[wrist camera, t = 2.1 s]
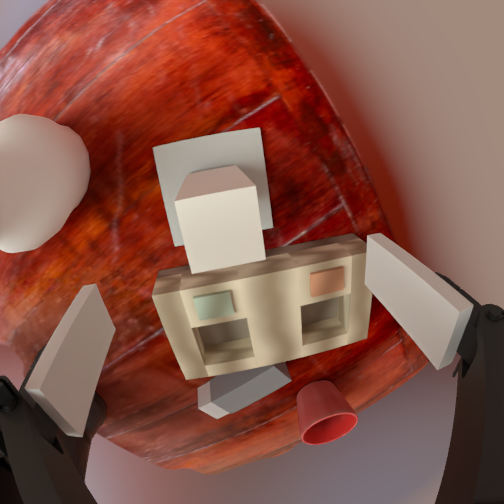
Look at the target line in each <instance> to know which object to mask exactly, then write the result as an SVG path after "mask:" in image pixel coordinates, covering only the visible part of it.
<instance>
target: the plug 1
mask: <svg viewBox="0 0 504 504" xmlns="http://www.w3.org/2000/svg"><path fill="white" fill-rule="evenodd" d="M174 203H175V207H176V212H177V216H178V220H179V225H180V229H181V233H182V237H183V241H184V245H185V249H186V253H187V257H188V261H189V265H190V269H191V273H192V274H194V273H200V272H205V271H210V270H215V269H220V268H226V267H231V266H236V265H241V264H246V263H251V262H256V261H261V260H266V257H265V249H264V242H263V234H262V227H261V220H260V213H259V206H258V198H257V191H256V186H255V184H254V183H253V182H252V181H251V180H250V179H249V178H248V177H247V176H246V175H245V174H244V173H243V172H242V171H241V170H240V169H239V168H238V167H237V166H236V165H234V166H233V165H232V164H231V165H225V166H220V167H214V168H209V169H204V170H199V171H194V172H191V173H190V174H187V175H186V178H185V180H184V182H183V184H182V186H181V188H180V190H179V192H178V194H177V196H176V198H175V201H174Z"/></svg>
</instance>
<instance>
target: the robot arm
mask: <svg viewBox="0 0 504 504" xmlns="http://www.w3.org/2000/svg"><path fill="white" fill-rule="evenodd" d="M364 284H365V285H366V286H367V287H368V289H369V290H370V291H371V292H372V293H373V294H374V295H375V296H376V298H377V299H378V300H379V301H380V302H381V303H382V304H383V305H384V307H385V308H386V309H387V310H388V311H389V312H390V313H391V315H392V316H393V317H394V318H395V319H396V320H397V322H398V323H399V324H400V325H401V326H402V327H403V329H404V330H405V331H406V332H407V333H408V334H409V336H410V337H411V338H412V339H413V340H414V342H415V343H416V344H417V345H418V347H419V348H420V349H421V350H422V351H423V353H424V354H425V355H426V356H427V358H428V359H429V360H430V361H431V362H432V364H433V365H434V366H435V368H436V369H437V370H439V369H441V368H443V367H445V366H447V365H449V364H451V363H452V361H453V359H454V356H455V354H456V352H458V354H459V355H460V356H461V358H460V360H459V362H458V364H457V367H456V369H455V371H454V373H453V377H455V375H456V373H457V372H458V385H457V397H456V407H455V415H454V423H453V430H452V436H451V441H450V447H449V452H448V457H447V461H446V466H445V470H444V474H443V478H442V482H441V485H440V489H439V492H438V495H437V498H436V502H435V504H504V310H503V309H502V308H500V307H499V306H496V305H493V304H486V305H483V306H481V305H480V304H479V303H478V302H477V301H476V300H474V299H473V298H472V297H471V296H470V295H468V294H467V293H466V292H465V291H464V290H462V289H460V287H459V286H457V285H456V284H454V282H452V281H451V280H450V279H449V278H447V277H446V276H443V275H441V274H439V273H436V272H435V273H434V272H433V271H431V270H430V269H429V268H428V267H426V266H425V265H424V264H422V263H421V262H419V261H418V260H417V259H416V258H414V257H413V256H412V255H410V254H409V253H407V252H406V251H405V250H404V249H402V248H401V247H399V246H398V245H397V244H395V243H394V242H392V241H391V240H390V239H388V238H387V237H385V236H384V235H382V234H381V233H377V234H371V235H367V252H366V269H365V283H364ZM115 330H116V329H115V327H114V325H113V322H112V320H111V318H110V316H109V314H108V311H107V309H106V307H105V305H104V302H103V300H102V298H101V295H100V293H99V290H98V288H97V285H96V284H91V285H85V286H83V287H82V288H81V290H80V291H79V293H78V294H77V296H76V297H75V299H74V300H73V302H72V304H71V305H70V307H69V308H68V310H67V311H66V313H65V315H64V316H63V318H62V320H61V321H60V323H59V325H58V326H57V328H56V330H55V331H54V333H53V335H52V336H51V338H50V340H49V342H48V344H46V345H45V346H44V347H43V348H42V349H41V350H40V351H39V353H38V354H37V356H36V358H35V360H34V361H35V362H33V364H32V366H31V369H29V371H28V373H27V375H26V377H25V379H24V381H23V383H22V385H21V388H20V390H19V392H18V390H17V389H16V388H15V386H14V385H13V384H12V383H11V381H10V380H9V379H8V377H6V376H0V504H97V502H96V501H95V499H94V498H93V496H92V494H91V493H90V491H89V490H88V488H87V486H86V485H85V475H86V468H87V462H88V456H89V450H90V445H91V441H92V438H93V437H94V435H95V434H96V432H97V430H98V429H99V427H100V426H101V425H102V424H103V423H104V420H105V417H106V412H107V408H106V405H105V403H104V401H103V400H102V398H101V397H100V396H99V395H98V394H97V393H96V392H95V389H96V386H97V383H98V380H99V376H100V373H101V370H102V367H103V364H104V361H105V358H106V355H107V352H108V349H109V346H110V344H111V341H112V338H113V335H114V333H115Z"/></svg>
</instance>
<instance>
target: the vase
mask: <svg viewBox="0 0 504 504" xmlns="http://www.w3.org/2000/svg"><path fill="white" fill-rule="evenodd" d="M90 174H91V169H90V160H89V152H88V150H87V148H86V146H85V144H84V142H83V140H82V138H81V137H80V136H79V135H78V134H77V133H76V132H74V131H73V130H72V129H71V128H70V127H68V126H63V125H59V124H57V123H56V122H54V121H52V120H50V119H48V118H45V117H41V116H34V115H27V114H17V115H13V116H11V117H9V118H7V119H5V120H2V121H0V250H2V251H5V252H8V253H16V252H22V251H29V250H34V249H36V248H38V247H40V246H41V245H42V244H43V243H45V242H46V241H47V240H48V239H50V238H51V237H52V236H54V235H55V234H56V233H57V232H58V231H59V230H60V229H61V228H62V227H63V225H64V224H65V222H66V220H67V218H68V217H69V215H70V213H71V212H72V210H73V209H74V208H76V207H77V206H78V205H79V203H80V201H81V200H82V198H83V196H84V195H85V193H86V191H87V188H88V183H89V178H90Z"/></svg>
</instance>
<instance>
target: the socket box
mask: <svg viewBox="0 0 504 504" xmlns="http://www.w3.org/2000/svg"><path fill="white" fill-rule="evenodd" d="M366 252H367V244H366V243H365V242H364V241H362V240H361V239H360V238H358V237H357V236H356V235H355V234H353V233H351V234H346V235H341V236H336V237H331V238H325V239H320V240H315V241H310V242H305V243H300V244H295V245H289V246H284V247H279V248H274V249H269V250H265V257H266V260H261V261H256V262H251V263H246V264H241V265H236V266H231V267H226V268H220V269H215V270H210V271H205V272H200V273H194V274H192V273H191V269H190V265H186V266H181V267H176V268H171V269H166V270H161V271H159V272H158V275H157V279H156V282H155V286H154V289H153V293H152V298H153V301H154V304H155V306H156V309H157V312H158V314H159V317H160V319H161V322H162V325H163V327H164V330H165V332H166V335H167V337H168V339H169V342H170V344H171V347H172V349H173V351H174V354H175V356H176V358H177V361H178V363H179V365H180V367H181V370H182V372H183V374H184V376H185V378H186V380H188V379H196V378H202V377H209V376H215V375H221V374H227V373H233V372H238V371H243V370H248V369H253V368H258V367H263V366H268V365H272V364H276V363H281V362H285V361H289V360H293V359H297V358H301V357H305V356H309V355H313V354H316V353H320V352H324V351H327V350H331V349H334V348H337V347H341V346H344V345H347V344H350V343H354V342H357V341H360V340H363V339H366V338H367V333H368V326H369V318H370V309H371V300H372V292H371V291H370V290H369V289H368V287H367V286H366V285H365V284H364V283H365V269H366Z"/></svg>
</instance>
